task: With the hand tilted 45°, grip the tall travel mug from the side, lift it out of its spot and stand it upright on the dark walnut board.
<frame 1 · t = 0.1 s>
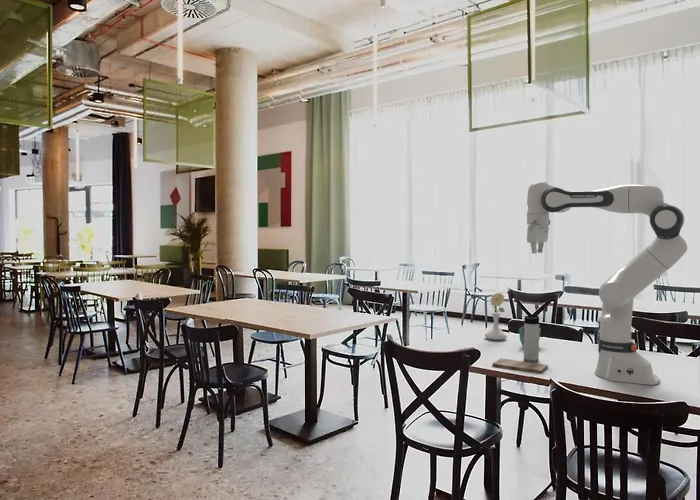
hand: (537, 253, 226), 48 cm above the table, tool pointing down, fingers open, 8 cm apart
coffee cup: (607, 347, 263), on the table
travel mug: (531, 360, 235), on the table
walnut board: (519, 367, 224), on the table
flower in vase: (496, 339, 279), on the table
flower pot: (529, 347, 263), on the table
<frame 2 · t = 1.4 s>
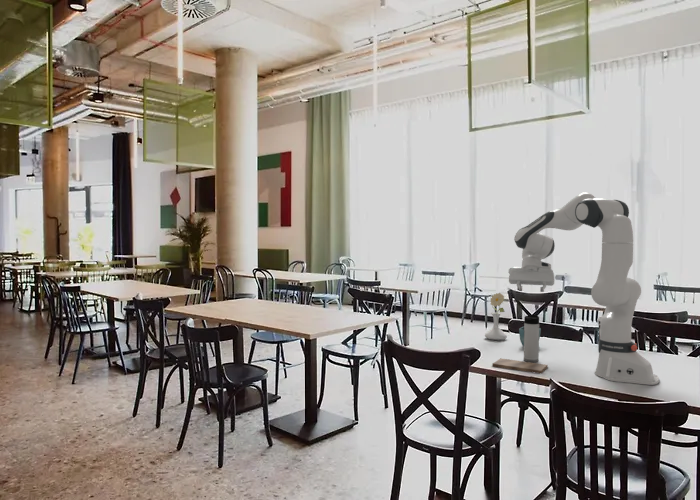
hand: (531, 290, 244), 30 cm above the table, tool tilted 45°, fingers open, 8 cm apart
nothing on the table moved.
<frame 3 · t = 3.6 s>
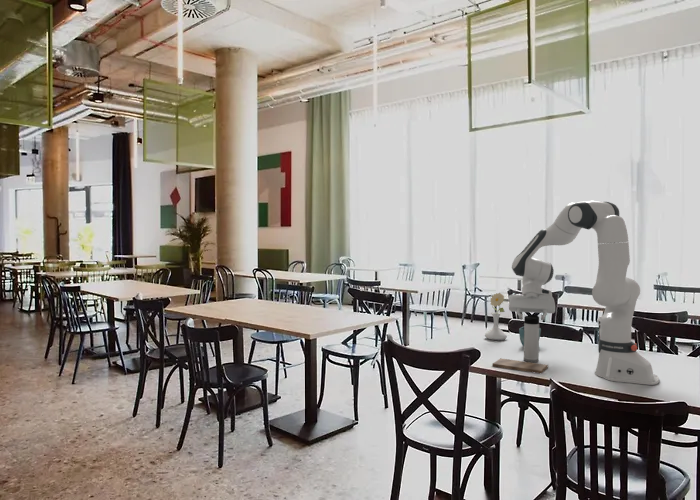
hand: (531, 318, 240), 18 cm above the table, tool tilted 45°, fingers open, 8 cm apart
nothing on the table moved.
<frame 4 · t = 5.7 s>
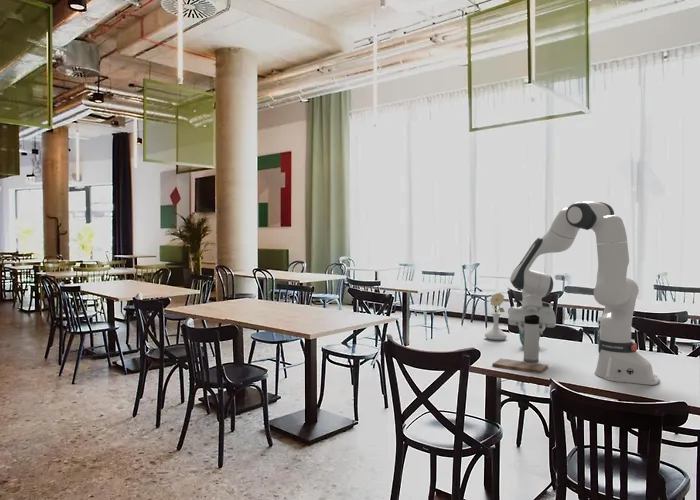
hand: (531, 333, 234), 12 cm above the table, tool tilted 45°, fingers closed on travel mug, 6 cm apart
travel mug: (531, 360, 235), on the table, touching gripper
everything else where it was.
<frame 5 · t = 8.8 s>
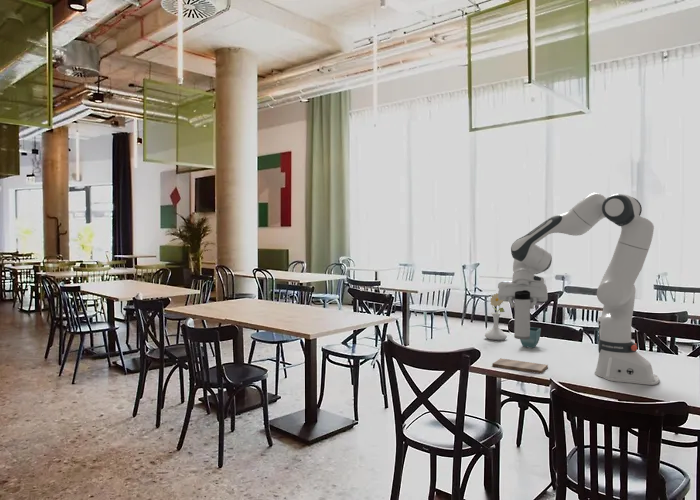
hand: (522, 307, 223), 25 cm above the table, tool tilted 45°, fingers closed on travel mug, 6 cm apart
travel mug: (522, 338, 225), point 12 cm above the table, touching gripper
everything else where it was.
when the fingers open (15 cm above the table, at t = 11.9 s): travel mug stays where it is, resting on walnut board.
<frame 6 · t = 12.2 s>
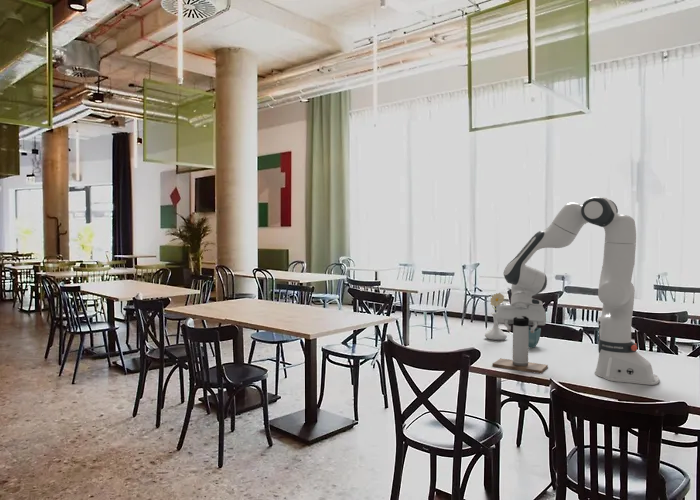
hand: (520, 331, 223), 15 cm above the table, tool tilted 45°, fingers open, 8 cm apart
travel mug: (520, 364, 224), point 1 cm above the table, touching walnut board
everything else where it was.
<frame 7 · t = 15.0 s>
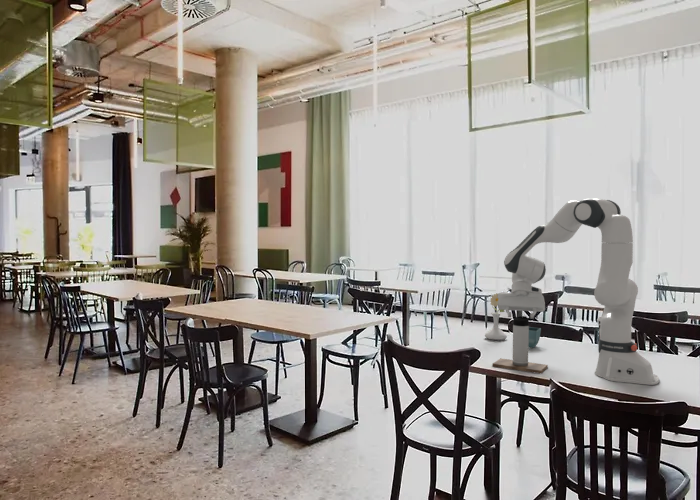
hand: (520, 317, 234), 19 cm above the table, tool tilted 45°, fingers open, 8 cm apart
nothing on the table moved.
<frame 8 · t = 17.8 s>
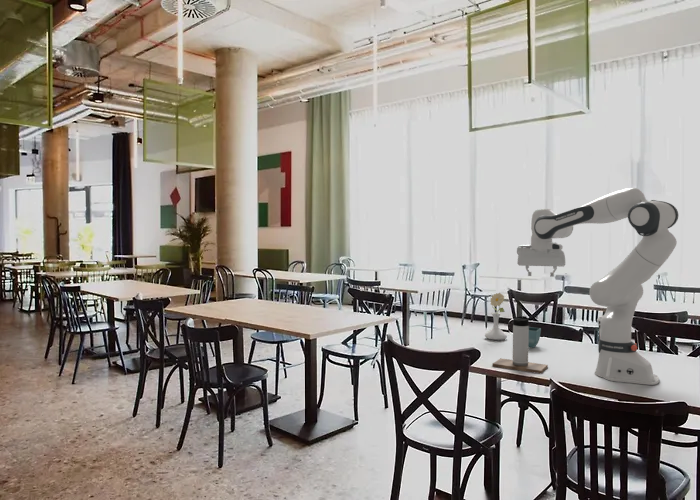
hand: (540, 276, 237), 37 cm above the table, tool pointing down, fingers open, 8 cm apart
nothing on the table moved.
at the end: travel mug inside the target area on the walnut board (0.2 cm from its centre), point 1.0 cm above the walnut board's base; travel mug tilted 0°; the gripper is holding nothing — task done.
